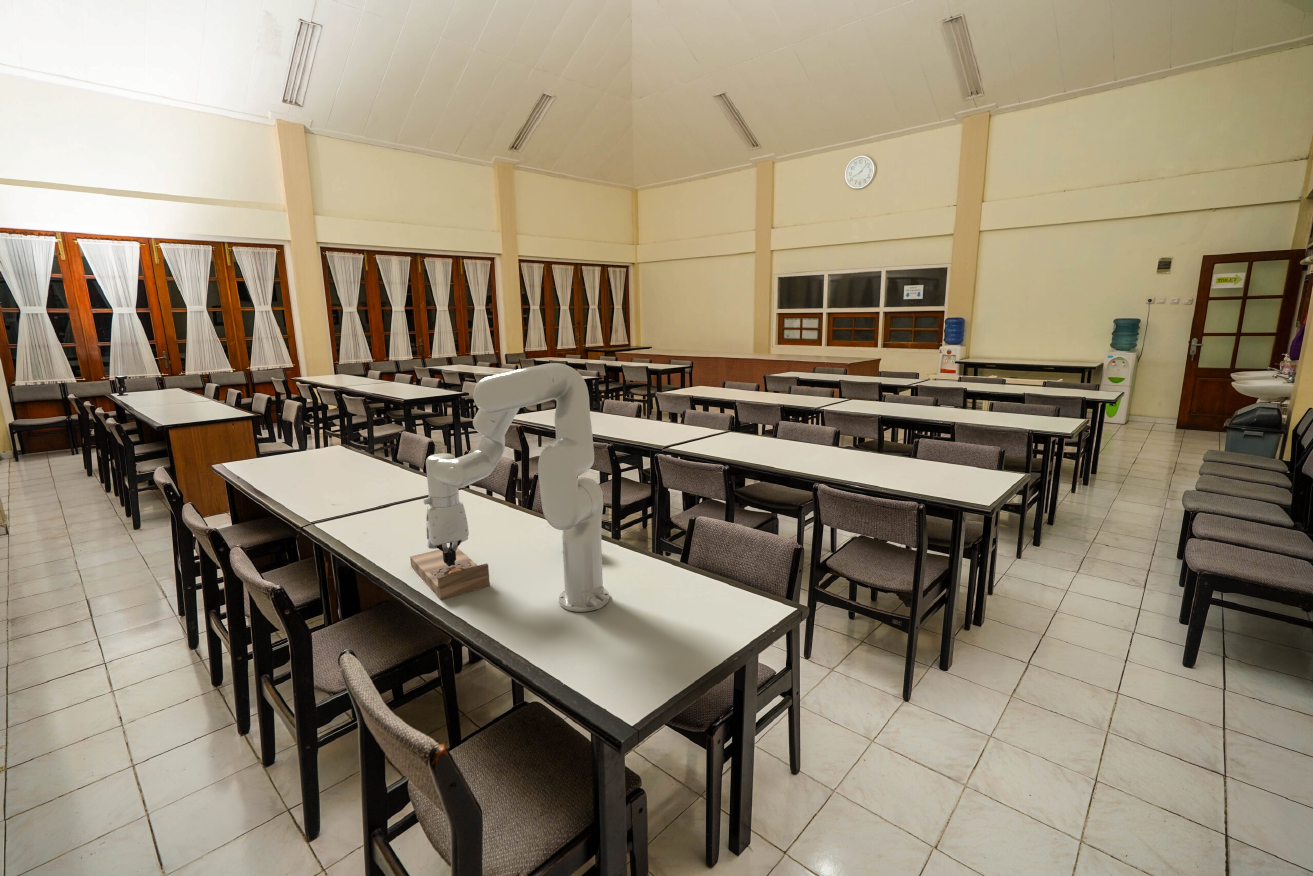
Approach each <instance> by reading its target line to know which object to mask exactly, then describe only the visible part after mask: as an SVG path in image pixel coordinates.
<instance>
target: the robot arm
mask: <svg viewBox="0 0 1313 876" xmlns="http://www.w3.org/2000/svg"><path fill="white" fill-rule="evenodd" d="M473 389H474V390H473V394H472V395H473V400H474V404H475V405H476V407H477V408H478V410H477V412H476V414H475V416H474V417H473V420H472V425H473V426H472V427H474V429H475V430H474V431H476V432H477V433H479V435H481V438H480V440H479V442H478V444H477V446H476V447H475V449H474V451H472V452H470V453H467V454H465V455H462V456H459V457H455V455H453V454H452V453H448V452H447V453H445V452H444V453H442V452H441V453H436V454H431V455H429V456H428V457H427V458H426V460H425V467H426V468H425V469H426V477H427V478H426V480H427V489H428V490H427V491H428V496H427V498H426V499H423V504H424V505H428V506H427V509H426V517H425V518H426V519H425V520H426V521H425V526H426V528H425V531H426V533H425V534H426V539H427V548H428V549H433V550H435V549H436V550H441V551H443V561H444V563H446V564H447V565H448V566H451V565H455V561H456V550H457V548H459V546H460V545H461V543H464V542H465V541H468V539H469V534H470V532H469V524H468V519H467V514H466V509H465V505H464V503H463V502H462V501H461V500H460V493H459V488H465V487H467V486H469V485H472V484H474V483H476V482H479V481H480V480H482V479H485V478H487V477H489V476H490V475H491V474H492V472H494V470H495V469H496V467H497V465H498V463H499V462H500V460H501V458H502V457H503V454H504V453H505V447H506V437H505V436H506V433H507V432H508V430H509V428H510V426H511V424H512V422H513V421H514V420H515V417H516V416H517V415H518V413H519V411H520V409H521V408H524V407H529V406H530V407H532V406H534V405H539V404H543V403H545V402H549V401H552V400H555V401H556V407H555V410H554V411H555V413H554V427H555V428H554V429H555V441H554V442H552V443H550V444H548V445H547V446H545V447H544V448H543V449H542V451H541V452H540V454H539V457H538V462H537V474H538V483H539V493H540V500H541V508H542V513H543V516H544V518H545V521H546V522H547V523H548V524H549V526H551V527H552V528H554V529H555V530H558V531H562V536H561V537H562V557H563V558H562V561H563V577H564V578H563V579H564V580H563V581H564V590H563V591H562V592H561V593H560V594H559V596H558V603H559V605H560V606H561V608H564V609H565V610H567V611H570V612H575V613H576V612H578V613H579V612H580V613H581V612H583V613H584V612H592V611H595V610H600V609H601V608H603V607H604V606H606V605H607V604H608V603H609V601H610V592H609V591H608V589H606V588H604V584H603V582H604V581H603V553H602V549H603V548H602V519H603V509H604V495H603V494H604V493H603V491H602V488H601V486H600V484H599V483H598V482H597V481H596V480H594V479H593V478H590V477H588V476H587V477H585V476H584V477H582V474H584V473H586V472H587V471H589V470H590V469H591V468H592V466H593V465H594V462H595V449H594V448H595V447H594V440H593V439H594V437H593V428H592V421H591V420H592V419H591V409H590V408H591V407H590V406H591V405H590V395H589V390H588V386H587V383H586V381H585V379H584V378H583V376H582V374H580V372H578V371H577V369H575V368H573V367H571V366H569V365H567V364H564V363H560V362H559V363H558V362H553V363H552V362H551V363H549V362H548V363H544V364H539V365H534V366H528V367H524V368H520V369H516V370H513V371H508V372H504V373H500V374H494V375H488V376H485V377H484V378H481V379H480V380H479V381H478V382H477V383H476V385H475V387H474V388H473ZM579 476H581V477H579ZM447 544H449V545H447ZM448 547H449V548H448Z"/></svg>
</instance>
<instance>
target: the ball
mask: <svg viewBox="0 0 1313 876" xmlns="http://www.w3.org/2000/svg"><path fill="white" fill-rule="evenodd" d="M460 570H462V569H460V568H454V569H452V570H451V571H450V572H449V573H453V572H456V571H460ZM449 573H448V574H449Z"/></svg>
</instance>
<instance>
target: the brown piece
mask: <svg viewBox="0 0 1313 876" xmlns="http://www.w3.org/2000/svg"><path fill="white" fill-rule="evenodd" d="M447 547H448V548H449V546H447ZM409 558H410V566H411V568H412V569H413V571H415V572H416V574H417V576H419V577H420V578H421V579H422V581H423V582H424V583H425V584H426V585H427V586H428V587H429V589H430V590H431V591H433V593H434V595H435V596H436V597H437V598H438V599H439V600H440V601H442V600H445V599H449V598H452V597H455V596H459V595H462V594H465V593H469V592H473V591H476V590H479V589H483V588H486V587H489V586H491V584H490V571H489V564H488V563H483V564H479V565H478V564H477V563H476V562H475V561H473V560H472V559H471V558H470V557H469V556H468V555H467V554H465V553H464V552H463V551H462V550H461V549H460V548H459V547H457V550H456V561H455V565H451V566H448V565H447V564H446V563H444V561H443V551H441V550H439V549H436V550H435V549H434V550H432V551H427V552H423V553H419V554H416V555H411V556H409ZM454 568H460V569H462V570H460V571H456V572H453V573H449V572H450V571H451V570H452V569H454ZM448 573H449V574H448Z"/></svg>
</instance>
